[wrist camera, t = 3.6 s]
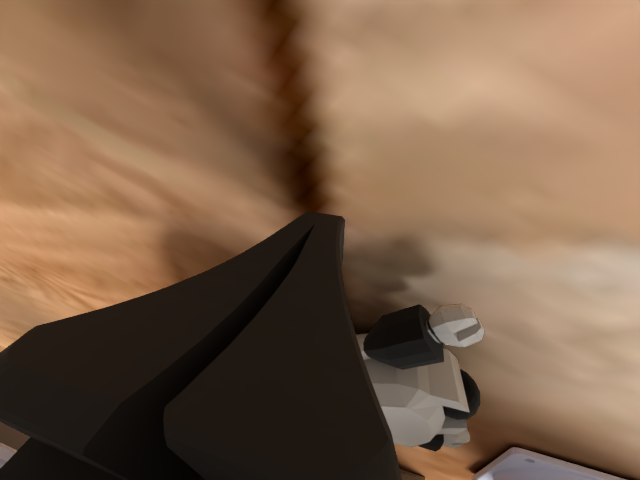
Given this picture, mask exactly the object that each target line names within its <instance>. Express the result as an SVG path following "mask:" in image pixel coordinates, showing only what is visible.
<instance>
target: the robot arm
mask: <svg viewBox="0 0 640 480" xmlns="http://www.w3.org/2000/svg"><path fill="white" fill-rule="evenodd" d="M344 227H345V220H344V218H343V217H342V216H335V215H328V214H321V213H314V212H306V213H304V214H303V215H301V216H300V217H298V218H297V219H295V220H294V221H292V222H291V223H289V224H288V225H287V226H285V227H284V228H282V229H280V230H279V231H277V232H276V233H274V234H273V235H271V236H270V237H268V238H267V239H265V240H263V241H262V242H260V243H258V244H257V245H255V246H253V247H252V248H250V249H248V250H246V251H245V252H243V253H241V254H240V255H238V256H236V257H234V258H232V259H230V260H228V261H226V262H224V263H222V264H220V265H218V266H216V267H214V268H212V269H210V270H208V271H205V272H203V273H201V274H198V275H196V276H193V277H191V278H188V279H186V280H184V281H181V282H179V283H176V284H174V285H171V286H169V287H166V288H163V289H161V290H158V291H155V292H152V293H149V294H146V295H144V296H141V297H138V298H134V299H131V300H128V301H125V302H122V303H119V304H116V305H112V306H109V307H106V308H102V309H99V310H95V311H91V312H88V313H84V314H80V315H77V316H73V317H69V318H65V319H62V320H58V321H54V322H51V323H47V324H42V325H38V326H36V327H34V328H33V329H31V330H30V331H28V332H27V333H25V334H24V335H23V336H22V337H20V338H19V339H18V340H16V341H15V342H14V343H12V344H11V345H10V346H8V347H7V348H6V349H4V350H3V351H2V352H0V422H2V423H4V424H6V425H8V426H10V427H12V428H14V429H16V430H18V431H20V432H22V433H24V434H26V435H28V436H30V439H28V441H26V443H25V444H24V445H23V446H22V447H21V448H20V449H19V450H18V451H16V450H14V449H12V448H10V447H8V446H6V445H4V444H2V443H0V480H402V478H401V473H400V469H399V465H398V460H397V456H396V452H395V447H394V442H393V437H392V433H391V430H390V428H389V425H388V423H387V420H386V418H385V416H384V413H383V411H382V408H381V406H380V403H379V400H378V398H377V395H376V392H375V390H374V387H373V385H372V382H371V379H370V376H369V373H368V371H367V368H366V365H365V362H364V359H363V356H362V353H361V350H360V347H359V343H358V340H357V337H356V333H355V330H354V327H353V323H352V320H351V316H350V312H349V308H348V304H347V299H346V294H345V290H344V284H343V278H342V270H341V266H342V261H343V245H344ZM472 478H473V480H627V479H623V478H620V477H616V476H613V475H610V474H606V473H603V472H600V471H596V470H593V469H589V468H586V467H583V466H579V465H576V464H573V463H569V462H566V461H563V460H559V459H556V458H552V457H549V456H546V455H542V454H539V453H536V452H532V451H529V450H525V449H522V448H517V447H513V448H510V449H509V450H507V451H506V452H505V453H503V454H502V455H501V456H499V457H498V458H496V459H495V460H494V461H492V462H491V463H490V464H488V465H487V466H486V467H484V468H483V469H482V470H480V471H479V472H477V473H476V474H475V475H473V477H472Z"/></svg>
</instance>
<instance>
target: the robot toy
mask: <svg viewBox="0 0 640 480" xmlns="http://www.w3.org/2000/svg"><path fill="white" fill-rule="evenodd" d="M483 334H484V328H483V326H482V324H481V322H480V320H479V319H478V318H476V317H475V313H474V312H473V310H472V309H471V308H469V307H467V306H465V305H463V304H454V305H445V306H441V307H440V308H439V309H438V310H436V311H435V312H434V313H433V314H432V315H430V314H429V312H428V311H427V310H426V309H425V308H424V307H423V306H421V305H420V304H419V305H416V306H412V307H409V308H406V309H403V310H400V311H397V312H394V313H390V314H387V315H384V316H382V317H381V318H380V319H379V321H378V322H377V323H376V324H375V325H374V326H373V328H372V329H371V330H370V332H369V333H366V334H356V337H357V340H358V343H359V347H360V350H361V353H362V356H363V359H364V362H365V365H366V368H367V371H368V373H369V376H370V379H371V382H372V385H373V387H374V390H375V392H376V395H377V398H378V400H379V403H380V406H381V408H382V411H383V413H384V416H385V418H386V420H387V423H388V425H389V428H390V430H391V433H392V437H393V442H394V444H398V445H403V446H408V447H415V446H420V447H423V448H426V449H429V450H432V451H437V450H439V449H440V448H441V446H442V445H444V446H447V447H454V448H457V447H460V446H462V445H464V444H465V443H467V442H469V441H470V435H469V433H468V430H467V428H468V426H467V422H466V419H468V418H470V417H471V416H473V415H474V414H476V412H477V410H478V407H479V405H480V391H479V389H478V387H477V385H476V383H475V381H474V380H473V379H472V378H471V377H470V376H469V375H468V374H467V373H466V372H465V371H463V370H461V369H460V368H459V364H458V359H457V358H456V357H455V356H454V355H453V354H452V353H451V352H450V351H449V350H447V349H443V344H444V345H451V346H458V347H467V346H469V345H471V344H474V343H476V342H478V341H481V340H482V337H483Z"/></svg>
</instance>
